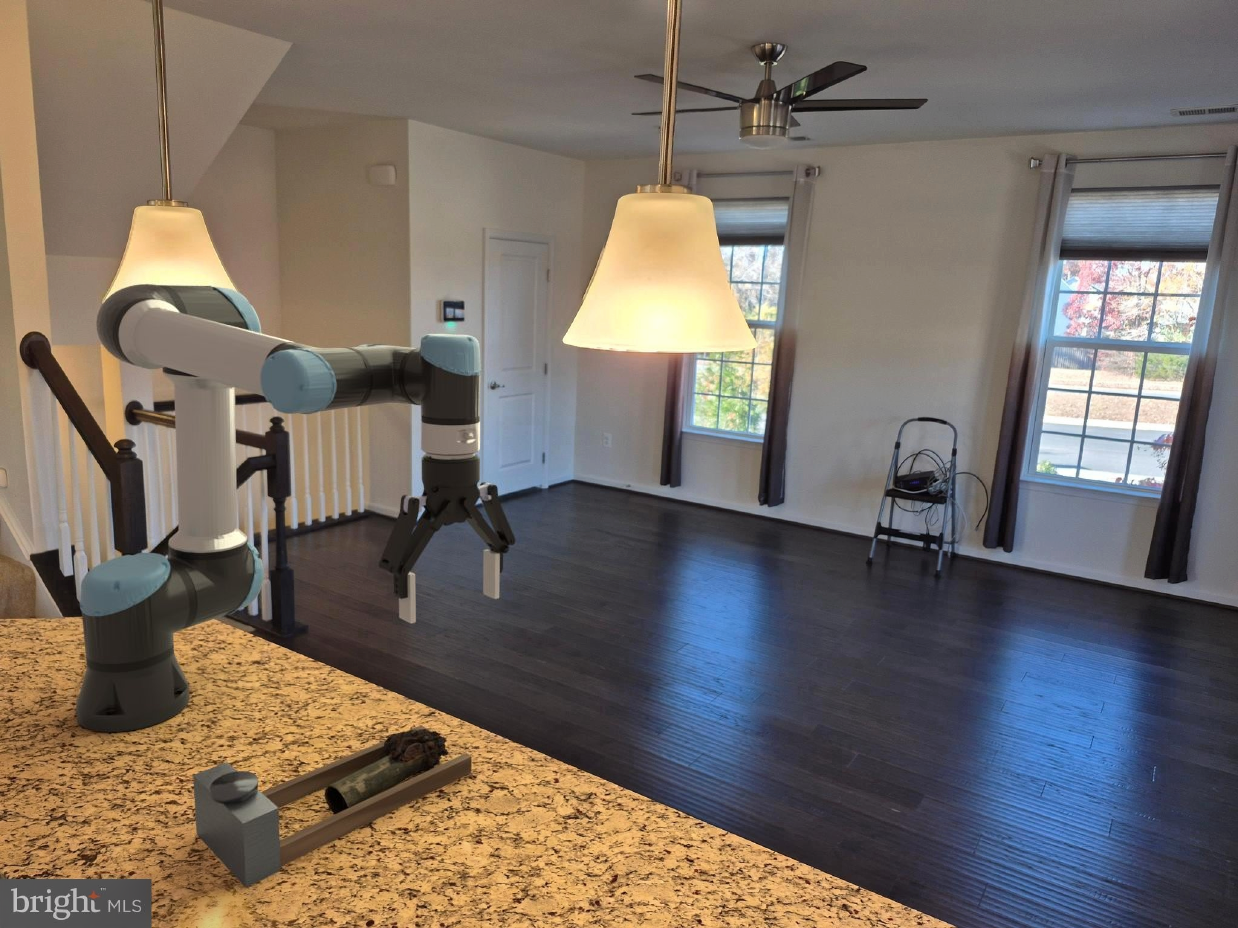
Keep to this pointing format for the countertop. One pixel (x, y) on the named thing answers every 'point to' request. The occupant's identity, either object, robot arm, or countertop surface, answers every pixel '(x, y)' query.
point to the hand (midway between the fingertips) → (451, 607)
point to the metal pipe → (388, 768)
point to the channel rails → (360, 812)
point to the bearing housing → (237, 822)
